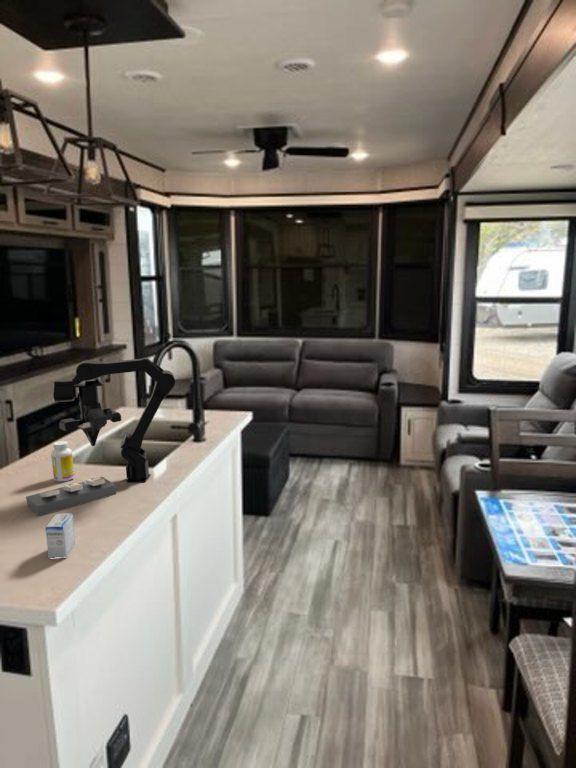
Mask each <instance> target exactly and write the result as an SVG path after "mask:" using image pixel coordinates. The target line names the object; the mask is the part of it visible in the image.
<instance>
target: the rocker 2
mask: <svg viewBox="0 0 576 768" xmlns="http://www.w3.org/2000/svg"><path fill="white" fill-rule="evenodd" d="M105 479H106V478H105ZM105 479H102V478H100V477H98V476H96V477H92V478H89V479H86V480H85V481H86V484H89V485H92V486H96V485H99V484H103V483H105Z"/></svg>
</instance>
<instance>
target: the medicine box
mask: <svg viewBox="0 0 576 768" xmlns="http://www.w3.org/2000/svg"><path fill="white" fill-rule="evenodd" d="M74 524H75V523H74V516H73V514H72V513H56V514H54V516H53V517H52V519H51V520H50V521H49V522H48V524H47V525H46V526H45V536H46V545H47V555H48V556H47V557H48V559H49V558H55V557H67V558H68V556H69V555H70V553H71V551H72V549H73V548H72V547H74V546H75V545H76V536H75V534H76V533H75V525H74ZM73 545H74V546H73ZM71 548H72V549H71ZM70 550H71V551H70ZM69 552H70V553H69ZM68 554H69V555H68ZM67 555H68V556H67Z"/></svg>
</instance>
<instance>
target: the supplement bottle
mask: <svg viewBox="0 0 576 768" xmlns="http://www.w3.org/2000/svg"><path fill="white" fill-rule="evenodd" d="M52 445H53V449H54V450H52V451H51V453H50V455H51V465H52V473H53V480H54V481H55V482H60V483H63V482H68V481H71V480H73V479H74V478H75V468H74V460H73V459H74V458H73V450H72V449H71V448H69V442H68V441H66V440H60V441H55V442H53V444H52Z"/></svg>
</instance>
